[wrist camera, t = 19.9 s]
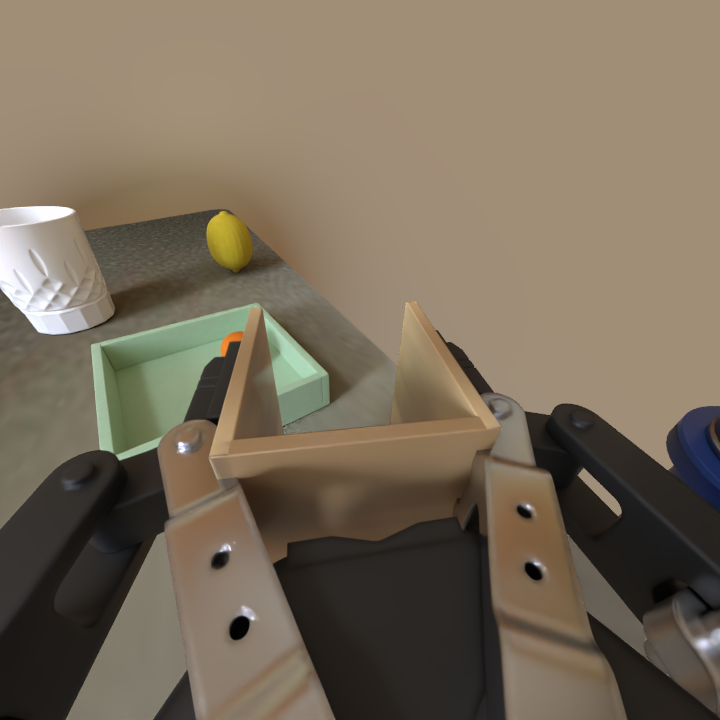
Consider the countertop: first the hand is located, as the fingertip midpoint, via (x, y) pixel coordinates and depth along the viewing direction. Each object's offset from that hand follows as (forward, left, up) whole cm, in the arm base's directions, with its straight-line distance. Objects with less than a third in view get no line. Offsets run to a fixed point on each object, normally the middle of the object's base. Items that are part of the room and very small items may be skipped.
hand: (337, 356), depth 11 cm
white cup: (+12, -32, -10) cm, 36 cm away
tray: (+3, -13, -10) cm, 17 cm away
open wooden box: (+1, +2, -7) cm, 7 cm away
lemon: (-6, -36, -10) cm, 38 cm away
